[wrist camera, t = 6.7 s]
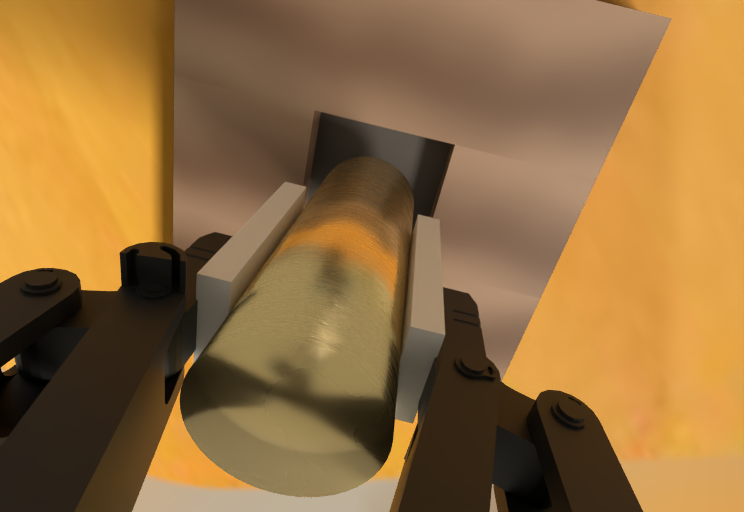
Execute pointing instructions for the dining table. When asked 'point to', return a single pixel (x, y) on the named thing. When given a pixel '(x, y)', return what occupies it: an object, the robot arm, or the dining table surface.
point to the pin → (313, 344)
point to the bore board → (412, 121)
